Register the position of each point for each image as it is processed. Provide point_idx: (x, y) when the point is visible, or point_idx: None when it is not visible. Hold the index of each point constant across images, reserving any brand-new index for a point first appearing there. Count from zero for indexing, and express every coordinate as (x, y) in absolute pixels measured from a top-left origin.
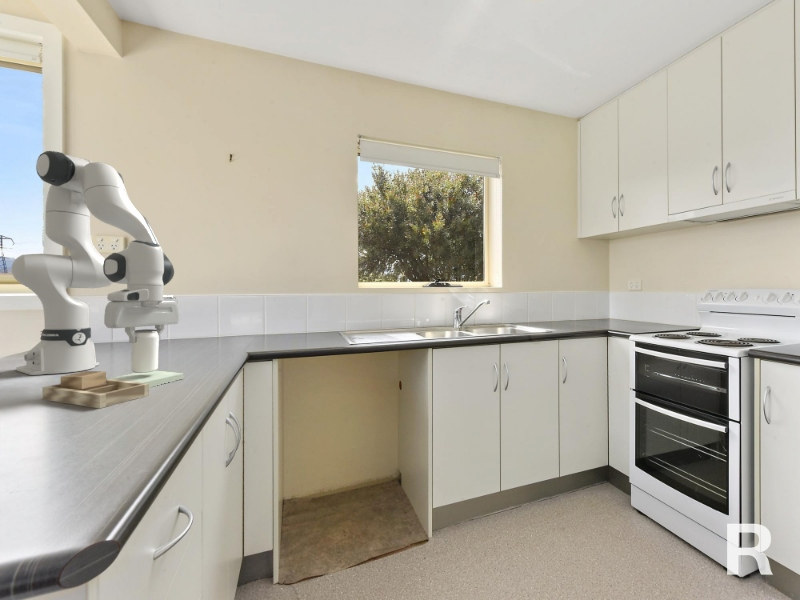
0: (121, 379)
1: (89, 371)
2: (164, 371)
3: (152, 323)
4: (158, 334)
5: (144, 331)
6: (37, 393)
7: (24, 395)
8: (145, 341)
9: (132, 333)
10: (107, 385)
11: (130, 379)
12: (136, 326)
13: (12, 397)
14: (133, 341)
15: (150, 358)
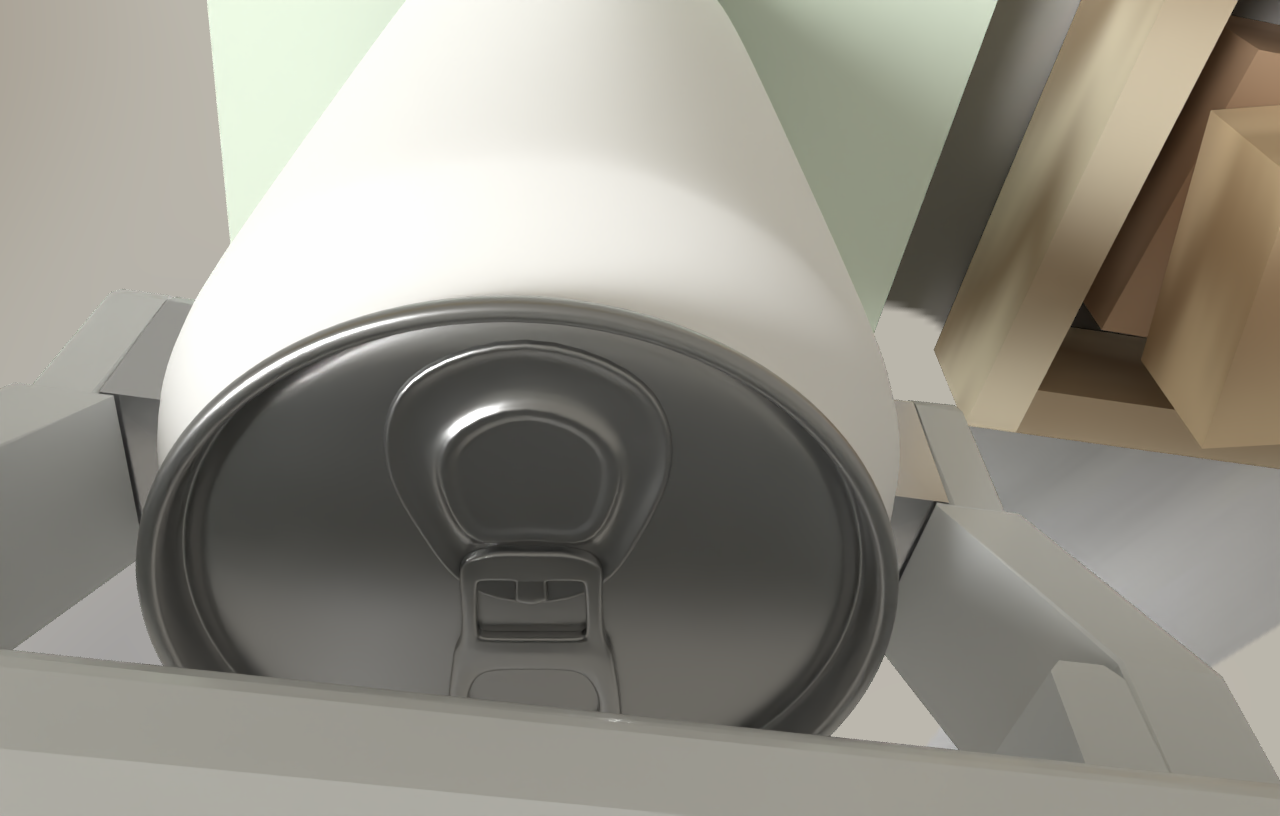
0: (830, 204)
1: (1241, 393)
2: (215, 45)
3: (330, 771)
4: (112, 395)
5: (541, 641)
6: (1120, 590)
7: (1178, 613)
8: (798, 211)
9: (1089, 600)
10: (1247, 42)
11: (817, 88)
12: (1158, 776)
13: (1233, 630)
14: (963, 418)
15: None
